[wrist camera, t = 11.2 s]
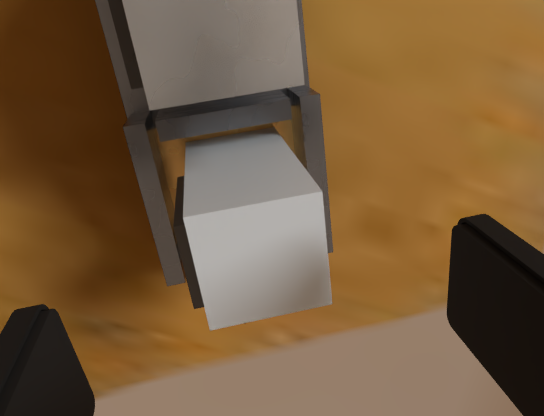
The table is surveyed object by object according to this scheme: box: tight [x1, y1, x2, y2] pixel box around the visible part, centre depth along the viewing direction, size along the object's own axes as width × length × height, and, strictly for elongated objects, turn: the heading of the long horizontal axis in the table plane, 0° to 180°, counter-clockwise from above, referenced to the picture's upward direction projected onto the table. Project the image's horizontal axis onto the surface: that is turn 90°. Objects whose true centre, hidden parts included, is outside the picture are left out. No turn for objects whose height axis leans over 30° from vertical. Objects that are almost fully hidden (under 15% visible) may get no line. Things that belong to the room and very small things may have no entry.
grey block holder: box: [95, 0, 333, 286], centre depth 16 cm, size 17×8×10 cm, turn 8°
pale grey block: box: [173, 127, 332, 330], centre depth 17 cm, size 4×4×8 cm
